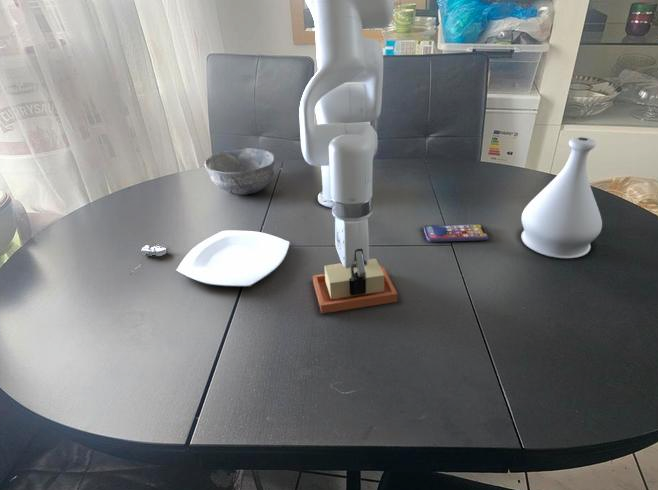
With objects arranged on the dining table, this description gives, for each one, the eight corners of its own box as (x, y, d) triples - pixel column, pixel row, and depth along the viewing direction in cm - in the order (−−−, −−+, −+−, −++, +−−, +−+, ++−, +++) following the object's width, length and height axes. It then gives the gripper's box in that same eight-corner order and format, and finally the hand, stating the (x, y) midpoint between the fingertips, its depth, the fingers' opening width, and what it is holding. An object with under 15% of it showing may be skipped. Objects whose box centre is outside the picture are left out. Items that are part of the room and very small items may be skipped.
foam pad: (325, 281, 94) (324, 265, 92) (375, 273, 96) (375, 258, 94) (330, 299, 89) (329, 283, 87) (383, 291, 91) (384, 275, 89)
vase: (504, 228, 114) (523, 130, 100) (565, 220, 117) (593, 123, 102) (542, 265, 100) (571, 157, 86) (611, 254, 103) (650, 148, 88)
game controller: (170, 247, 110) (168, 238, 109) (156, 274, 101) (153, 265, 99) (147, 248, 110) (144, 239, 109) (130, 275, 101) (127, 266, 99)
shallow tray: (313, 283, 97) (312, 275, 95) (382, 273, 99) (382, 265, 98) (321, 313, 88) (320, 305, 87) (397, 301, 90) (397, 293, 89)
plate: (255, 300, 92) (253, 293, 91) (163, 280, 99) (161, 273, 98) (302, 245, 110) (301, 238, 108) (222, 231, 117) (220, 225, 115)
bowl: (260, 208, 127) (256, 175, 121) (197, 201, 132) (190, 169, 126) (288, 180, 143) (285, 149, 138) (231, 174, 148) (226, 145, 143)
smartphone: (422, 228, 115) (480, 226, 115) (427, 242, 109) (489, 240, 109) (423, 225, 114) (481, 223, 115) (428, 239, 108) (489, 237, 108)
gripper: (323, 188, 88) (328, 263, 99) (341, 229, 74) (344, 312, 85) (360, 184, 90) (361, 259, 100) (384, 223, 76) (382, 306, 86)
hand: (353, 282), depth 92 cm, fingers closed on foam pad, 6 cm apart
